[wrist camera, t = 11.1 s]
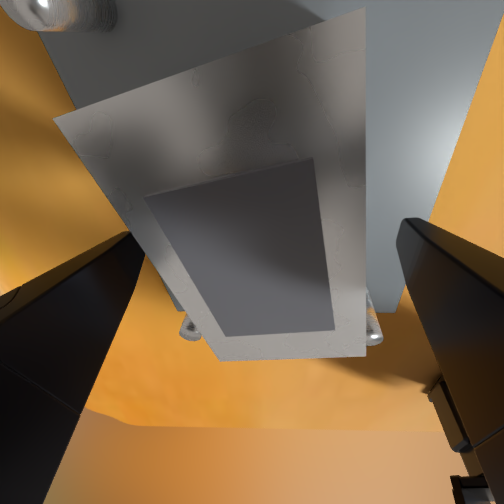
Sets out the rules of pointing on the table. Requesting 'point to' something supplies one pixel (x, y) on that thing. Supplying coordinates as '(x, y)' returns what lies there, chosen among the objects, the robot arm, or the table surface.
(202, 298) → the block
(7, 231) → the table surface
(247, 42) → the pin tray
